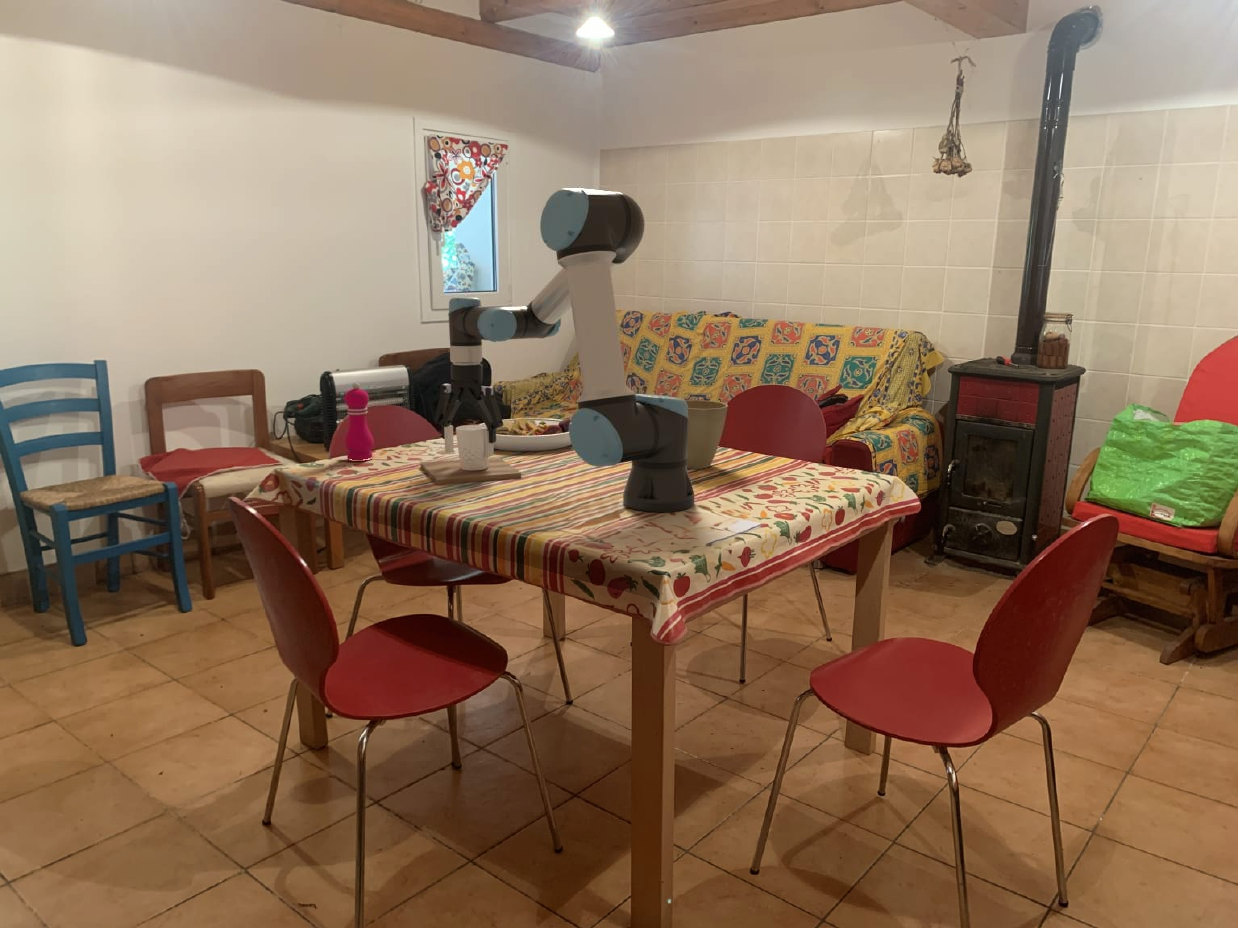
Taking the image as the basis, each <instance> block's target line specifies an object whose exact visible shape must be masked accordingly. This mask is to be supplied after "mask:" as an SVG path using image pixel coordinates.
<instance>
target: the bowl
mask: <svg viewBox="0 0 1238 928" xmlns="http://www.w3.org/2000/svg"><path fill="white" fill-rule="evenodd" d="M502 421H503V426H502V427H499V428H497V429H496V442H495V443H493V449H494V450H498V449H499V451H505V452H506V451H509V452H543V451H554V450H559V449H563V448H567V447H570V446H572V444H571V441H570V436H569V423H570V422H572V421H571V419H567V418H565V419H550V418H524V417H516V418H510V419H509V418H508V419H502ZM478 425H485V423H484V422H483V423H479V424H478Z"/></svg>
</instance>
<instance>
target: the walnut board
mask: <svg viewBox="0 0 1238 928" xmlns="http://www.w3.org/2000/svg"><path fill="white" fill-rule="evenodd" d="M488 458H489V467H488V468H487V469H483V470H476V471H468V470H462V469H461V467H460V459H453V460H452V459H451V460H440V461H429V462H428V461H427V462H420V469H422V471H424V473H426V475H427V474H428V476H427V477H429V478H430V479H431V478H432V479H431V480H432V481H433V483H435V484H436V485H437V486H440V485H441V486H442V485H449V484H450V485H451V484H452V485H453V484H462V483H475V482H476V483H477V482H486V481H498V480H508V479H520V478H522V472H521V471H519V470H518V469H517V468H515V467H513V466H512V465H511V464H509V463H508V462H506V460H503V459H502V458H501V457H499V456H494V457H493V456H490V457H488Z"/></svg>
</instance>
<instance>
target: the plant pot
mask: <svg viewBox="0 0 1238 928" xmlns="http://www.w3.org/2000/svg"><path fill="white" fill-rule="evenodd" d="M683 400H684V401H686V403H687V405H688V417H689V420H688V445H687V469H689V468H691V469H690V470H703V469H702V468H706V469H708V468H707V467H709V466H710V467H711V465H712V463H713V461H714V459H715V456H716V453H717V450H718V447H719V444H720V441H721V439H722V435H723V431H724V427H725V423H726V418H727V411H728V407H729V405H728V404H727V403H724V402H720V401H713V400H712V401H711V400H705V399H704V400H703V399H700V400H699V399H683ZM710 467H709V468H710Z"/></svg>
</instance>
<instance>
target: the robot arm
mask: <svg viewBox="0 0 1238 928" xmlns="http://www.w3.org/2000/svg"><path fill="white" fill-rule="evenodd" d="M645 224H646V223H645V217H644V214H643V211H642V209H641V207H640V206H639V204H638V203H637V201H635V200H634V198H632V197H631V196H629V195H628V194H625V193H623V192H620V191H605V190H598V189H587V188H582V187H575V188H561V189H558V190H556V191H555V192H554V193H552V194H551V195H550V197H549V198H548V199H547V201H546V203H545V205H544V206H543V208H542V212H541V216H540V223H539V225H540V226H539V228H540V235H541V238H542V241H543V243H544V244H545V245H546V247H547V248H549V249H551V250H552V251H555V252H556V253H555V254H556V259H557V264H558V265H559V266H560V267H562V268H560V270H559V271H558V272H557V273H556V275H554V276H553V277H552V279H551V280H550V281H549V282H548V283H547V284H546V285H545V286H544V288H542V289H541V290H540V292H538V294H537V295H536V296H535V297H534V298H533V299H532V301H530V302H529V303H528V304H527V305H522V306H521V305H520V306H516V305H515V306H482V302H481V299H480V298H479V297H469V296H466V297H465V296H464V297H463V296H462V297H461V296H460V297H459V296H458V297H452V298H450V299H449V302H448V314H447V315H448V329H449V330H448V332H449V359H450V360H449V361H450V362H451V363H452V364H451V365H450V379H451V383H443V384H440V386H439V391H440V394H439V395H440V396H439V399H438V402H437V407H436V411H435V415H434V419H433V422H434V424H438V425H440V426H441V438H442V440H444V453H445V454H450V453H451V454H452V453H453V452H455V450H454V448H455V445H454V443H455V442H454V426H453V425H452V423H451V422H452V421H453V419H454V417H455V416H456V413H457V411H458V410H459V408H460V405H461V404H462V403H465V402H466V403H468V404H472V405H473V406H474V407H475V408H476V410H477V412H478V414H479V416H480V417H481V419H482V421H483V423H485V425H486V427H487V428H488V429H486V430H485V457H488V458H490V457H493V456H494V452H495V451H494V450H495V449H493V443H495V442H496V429H497V428H499V427H502V426H503V421H502V420H503V419H502V418H503V417H502V414H501V412H500V408H499V405H498V403H497V399H496V388H495V386H493V385H490V386H486V385H485V386H484V384H483V378H484V376H483V375H484V374H483V373H484V369H483V368H484V367H483V366H484V365H483V364H482V361H483V341H488V342H489V341H490V342H493V343H496V342H506V341H509V340H520V339H521V340H522V339H545V338H550V337H554V336H556V335H557V334H558V333H559V331H560V327H561V325H562V318H563V316H564V315H565V314H566V313H567V312H568V311H569V310H570V309H571V312H572V319H573V326H574V333H575V340H576V348H577V354H578V361H579V362H578V363H579V369H580V376H581V382H582V390H583V391H582V393H581V395H580V396H579V398H578V399H577V400H576V403H577V410H576V411H575V412H574V413H573V414H572V415H571V417H570V420H571V421H572V422H570V423H569V436H570V441H571V446H572V448H573V450H574V452H575V453H576V455H577V456H578V457H580V458H581V460H582V462H583V461H584V463H586V464H587V465H590V466H591V467H605V466H606V467H609V466H611V467H613V466H616V465H618V464H623V463H629V462H631V469H630V471H629V475H628V478H627V480H626V484H625V486H624V489H623V494H622V496H623V497H622V499H623V501H622V503H623V506H624V505H625V507H627V508H629V509H632V510H637V511H643V512H653V513H668V512H672V513H673V512H678V511H684V510H688V509H690V508H693V507H694V505H695V491H694V488H693V485H692V482H691V479H690V474H689V471H688V468H687V445H688V420H689V417H688V405H687V403H686V401H684V400H685V399H683V398H680V397H679V398H678V397H674V396H668V395H667V396H666V395H658V394H646V393H645V394H644V393H635V391H633V390H632V389H631V388H630V387H628V385H627V382H626V374H625V366H624V361H623V360H624V359H623V352H622V346H621V345H622V344H621V337H620V336H621V335H620V329H619V322H618V316H617V309H616V301H615V294H614V286H613V279H612V272H611V268H613V267H614V266H615V265H622V264H623V263H625V262H626V260H628V259H629V258H630V257H631V256H632V255H633V254H634V252H635V251H636V250H637V248H638V247H639V245H640V243H641V242H642V239H643V237H644V236H643V235H644V233H645ZM451 393H452V394H453V396H452V398H451V400H449V399H450V397H451V396H450V395H451ZM482 394H483V395H484V396H485V400H484V398H483V396H482ZM449 401H450V404H449ZM485 401H486V403H487V406H486V404H485ZM448 404H449V406H448Z"/></svg>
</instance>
